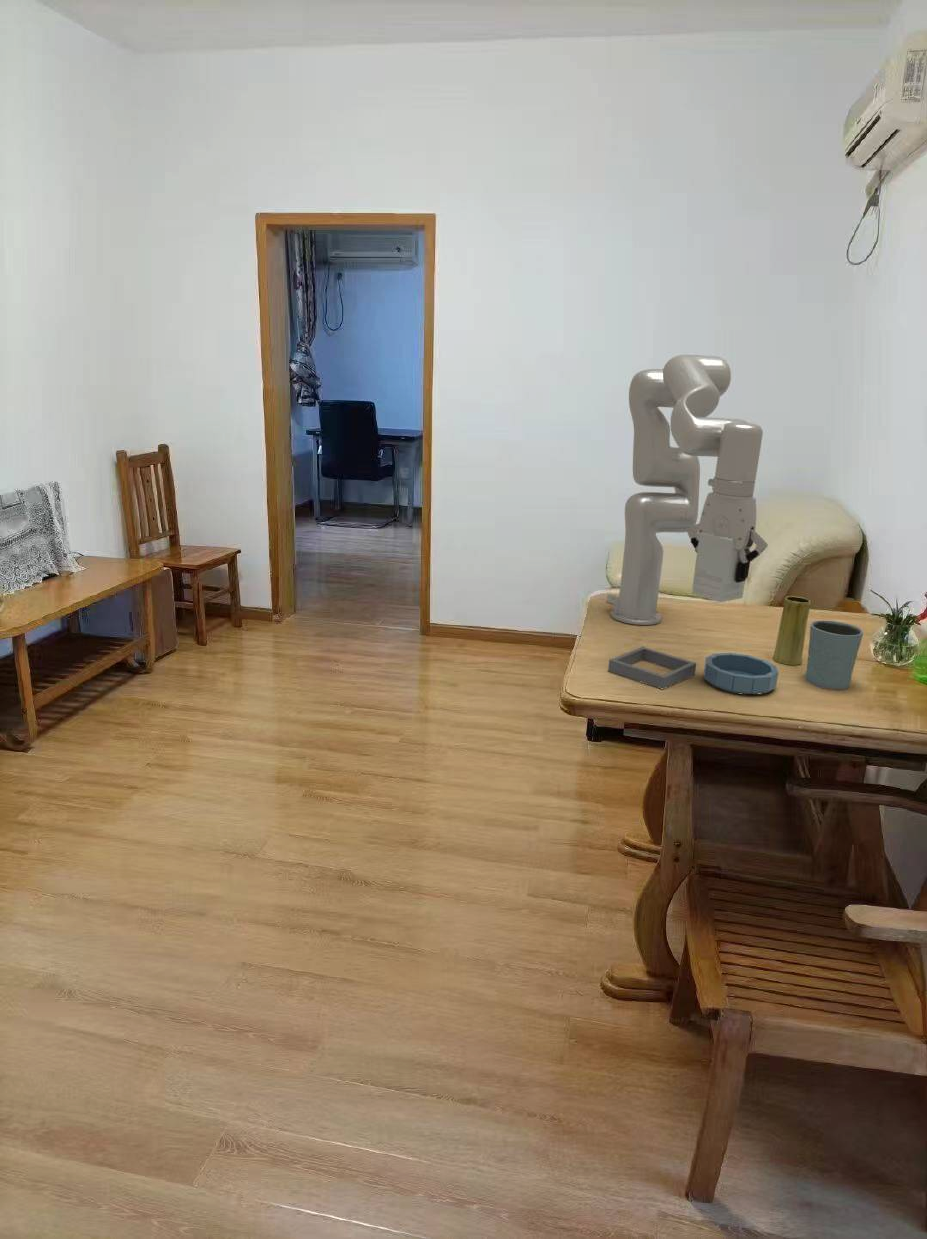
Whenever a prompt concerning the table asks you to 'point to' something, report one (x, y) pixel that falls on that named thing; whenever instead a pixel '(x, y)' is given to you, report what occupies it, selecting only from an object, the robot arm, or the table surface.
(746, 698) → the table surface
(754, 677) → the bowl
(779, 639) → the vase
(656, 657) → the gray square frame
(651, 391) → the robot arm
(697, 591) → the supplement box
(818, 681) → the blue-grey cup
